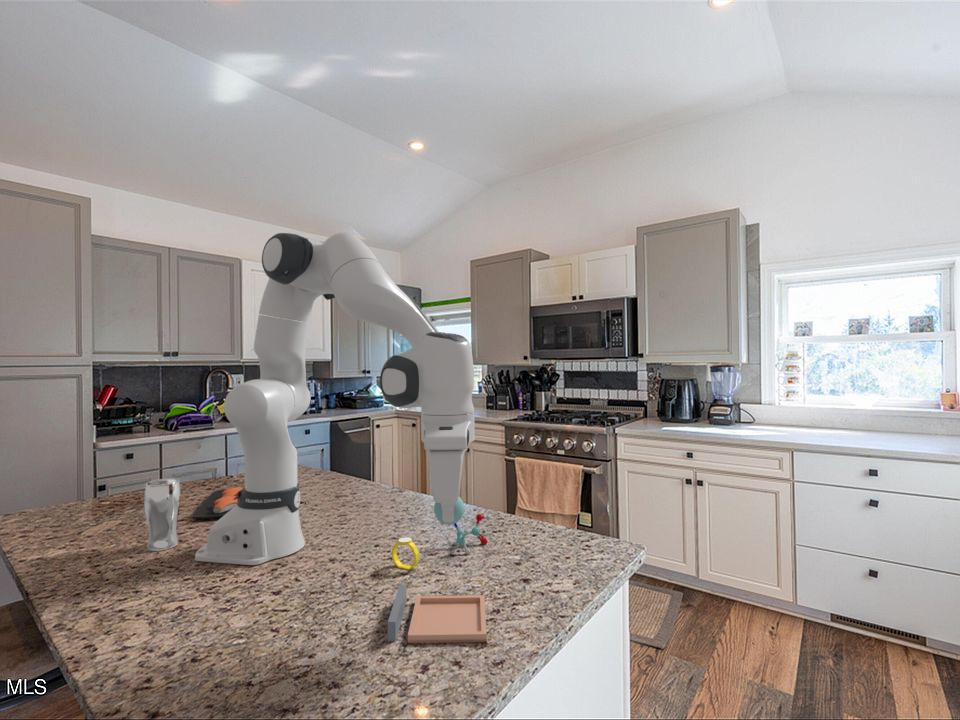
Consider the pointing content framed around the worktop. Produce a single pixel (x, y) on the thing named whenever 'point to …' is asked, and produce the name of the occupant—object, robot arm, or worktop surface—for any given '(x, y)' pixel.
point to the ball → (457, 511)
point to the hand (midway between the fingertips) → (449, 514)
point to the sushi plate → (218, 504)
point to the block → (396, 613)
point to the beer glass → (162, 513)
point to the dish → (448, 619)
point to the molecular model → (475, 531)
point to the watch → (416, 553)
